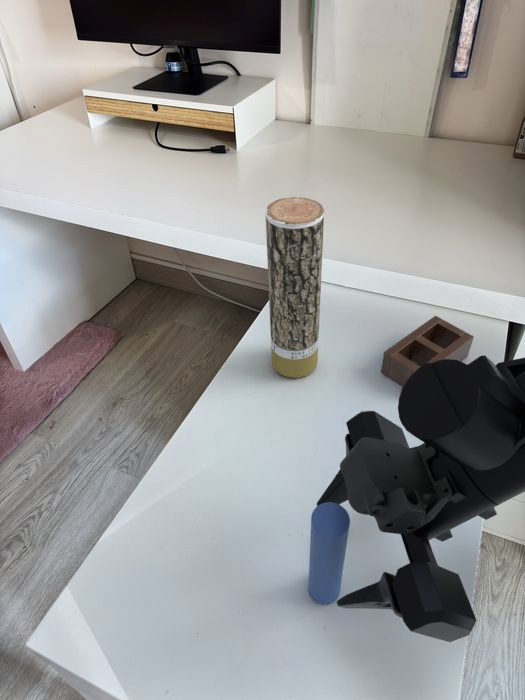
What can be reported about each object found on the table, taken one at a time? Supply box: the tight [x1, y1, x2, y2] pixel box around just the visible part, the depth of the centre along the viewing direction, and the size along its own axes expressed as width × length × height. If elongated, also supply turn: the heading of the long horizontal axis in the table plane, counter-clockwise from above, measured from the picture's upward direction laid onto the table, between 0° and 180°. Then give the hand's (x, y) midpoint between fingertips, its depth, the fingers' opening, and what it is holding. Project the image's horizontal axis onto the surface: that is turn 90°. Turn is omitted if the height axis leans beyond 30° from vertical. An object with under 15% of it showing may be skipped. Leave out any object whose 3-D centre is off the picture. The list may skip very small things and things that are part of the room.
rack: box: [380, 315, 475, 388], centre depth 73 cm, size 7×12×4 cm, turn 130°
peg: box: [307, 502, 351, 606], centre depth 47 cm, size 3×3×14 cm
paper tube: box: [265, 196, 325, 379], centre depth 67 cm, size 7×7×25 cm
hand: (329, 552), depth 46 cm, fingers open, 9 cm apart
